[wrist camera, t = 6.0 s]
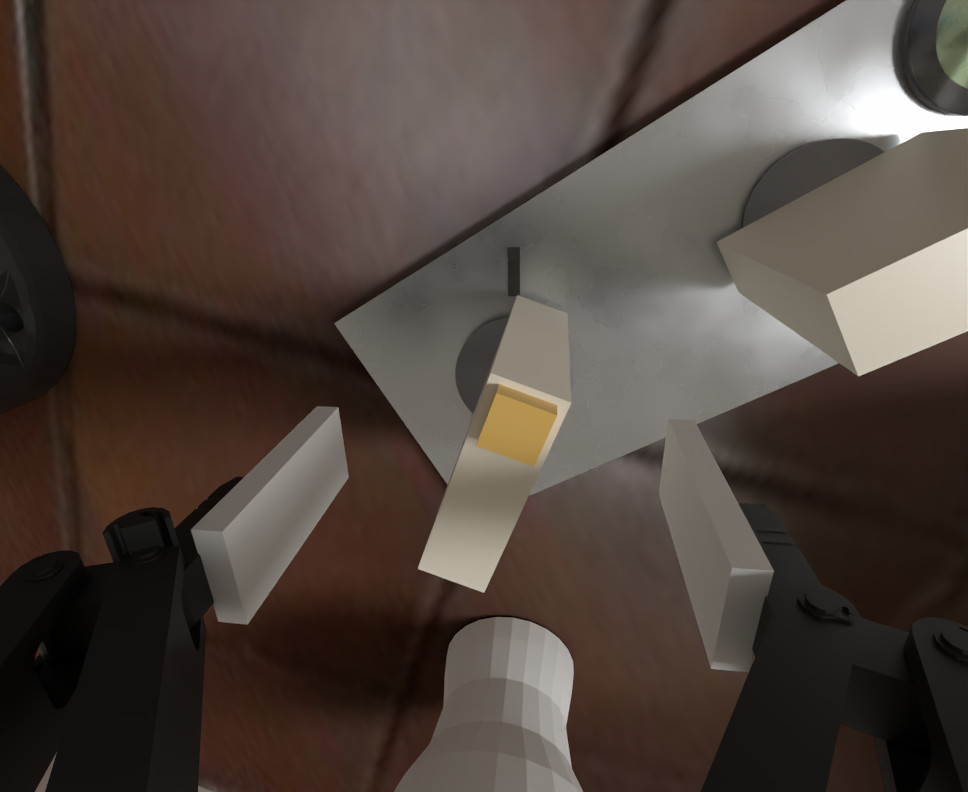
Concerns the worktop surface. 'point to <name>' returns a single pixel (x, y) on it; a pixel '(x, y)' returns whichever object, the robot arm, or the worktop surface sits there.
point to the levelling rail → (664, 243)
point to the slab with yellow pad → (500, 437)
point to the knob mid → (860, 246)
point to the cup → (500, 714)
